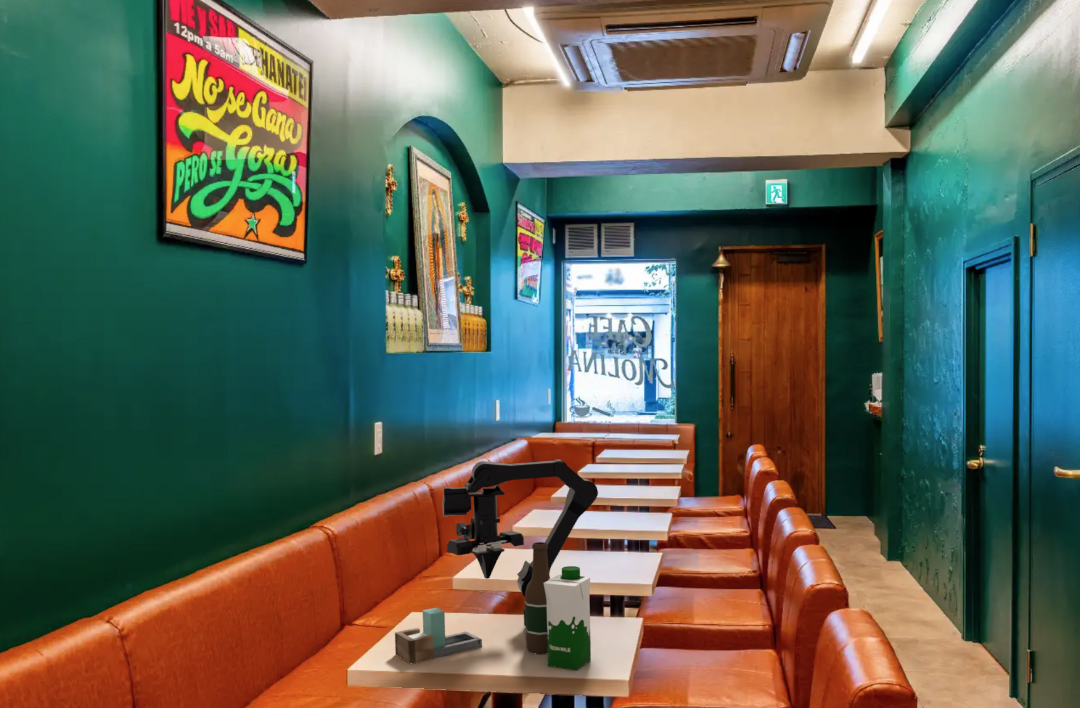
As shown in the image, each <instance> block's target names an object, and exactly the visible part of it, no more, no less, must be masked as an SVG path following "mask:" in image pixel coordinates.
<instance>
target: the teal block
mask: <svg viewBox="0 0 1080 708" xmlns="http://www.w3.org/2000/svg"><path fill="white" fill-rule="evenodd" d="M445 616H446V615H445V610H442V609H440V608H439V607H433V608H428V609H422V628H423V629H422V632H420V633H418V634H413V635H409V637H411V638H412V639H413V638H418V637H423V636H427V635H432V636H433V648H437V647H441V646H445V636H446V623H445V622H446V617H445Z"/></svg>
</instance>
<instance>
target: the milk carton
mask: <svg viewBox="0 0 1080 708" xmlns="http://www.w3.org/2000/svg"><path fill="white" fill-rule="evenodd" d="M590 587H591V577H587V576H582V575H581V568H580V567H579V566H574V565H571V566H570V565H569V566H568V565H567V566H563V567H562V568H561V574H558V575H556V576H554V577H550V579H549V580H548V581H547V582H545V583H544V588H545V594H546V600H547V634H548V654H547V667H551V668H557V669H562V670H563V669H564V670H569V671H570V670H571V671H579V670H580V669H582V667H584V666H585V665H586V664H588V663H589V662H591V659H592V658H591V653H592V652H591V649H592V647H591V646H592V642H591V641H592V640H591V639H592V638H591V612H590V611H591V609H590V593H591V592H590Z"/></svg>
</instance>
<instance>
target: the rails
mask: <svg viewBox="0 0 1080 708" xmlns="http://www.w3.org/2000/svg"><path fill="white" fill-rule="evenodd" d="M478 647H480V648H483V639H482V638H480V637H479V636H476V634H473V633H470V632H468V631H462V632H458V633H454V634H453V633H452V634H449V635H445V646H441V647H437V648H433V650H434V659H436V658H440V657H441V658H442V657H445V656H448V655H454V654H457V653H462V652H466V651H470V650H474V649H479V648H478Z"/></svg>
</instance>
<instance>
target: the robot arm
mask: <svg viewBox="0 0 1080 708" xmlns="http://www.w3.org/2000/svg"><path fill="white" fill-rule="evenodd" d="M555 477H557V479H558V480H560V481H561V482H562V483H563V484H564V485H565V486H566V487H567V488H568V491H567V494H566V497H565V502H564V507H563V510H562V511H561V513H560V515H559V516H558V518H557V520H556V522H555V523H554V525H553V527H552V529H551V531H550V532H549V535H547V537H546V540H545V541H544V542H545V543H547V545H548V549H547V556H548V568H549V574H550V573H551V569H552V566H553V564H554V563H555V562H556V559H557V557H558V556H559V554H560V552H561V550H562V549H563V547H564V544H565V543H566V541H567V539H568V537H569V536H570V534H571V532H572V530H573V529H574V527H575V525H576V523H577V522H578V519H579V518H580V517H581V516H582V515H583V514H584V513H585V512H587V511H588V509H590V508H591V506H592V504H593V503H595V501H596V500H597V497H598V495H599V490H598V487H597V485H596V484H595V483H594V482H593V481H591V480H589V479H587V478H585V477H582V476H580V475H579V474H578V473H576V471H574V470H573V469H572V468H570V467H569V465H568V464H567V463H566V461H563V460H561V459H554V460H548V461H547V460H546V461H545V460H544V461H536V462H535V461H534V462H533V461H532V462H521V463H520V462H519V463H503V462H495V461H486V460H483V461H482V460H481V461H478V462H476V463H475V464H474V466H473V467H472V468H471V476H470V477H469V479H468V480H467V482H465V485H464V486H463V487H443V489H442V490H443V493H442V499H441V501H442V503H441V505H442V515H443V517H454V516H455V517H456V516H467V515H468V513H470V512H471V511H472V505H473V517H471V518H470V523H469V524H466V521H464V522H457V523H456V524H455V533H456V536H457V538H455V539H449V541H448V542H447V545H446V551H447V552H448V553H450V554H453V555H456V556H465V555H469V554H470V555H471V554H473V555H474V556H475V558H476V560H477V562H478V564H479V567H480V569H481V572H482V574H483V577H484V578H485V579H488V580H489V579H490V578H491V577H492V574H493V571H494V569H495V566H496V564H497V562H498V560H499V558H500V556H501V554H502V553H504V552H505V550H506V549H504V548H503V547H502V545H505V544H511V546H513V547H518V546H519V547H520V546H524V545H525V537H524V535H523V533H522V532H517V531H514V530H509V531H507V530H506V531H502V532H500V533H499V532H498V530H499V529H498V524H499V523H501V518H500V517H498V500H497V499H498V497H497V496H504V495H505V493H506V492H505V491H504V490H503V489H502V488H501V487H500V486H499V485H501V484H504V483H507V482H510V481H514V480H515V481H517V480H528V479H529V480H530V479H541V478H543V479H544V478H555ZM480 490H481V491H480ZM478 491H479V492H478ZM472 500H473V501H472ZM472 502H473V503H472ZM498 533H499V534H498ZM460 537H462V538H460ZM532 572H533V560H532V561H531V562H528V561H527V560H524V563H523V565H522V568H521V569H520V571H519V572H518V573H516V575H517V577H518V578H517V580H516V581H517V587H518V589H519V591H520V592H521V594H522V596H523V597H524V598H525V591H526V588H527V585H528V584H529V582H530V580H531V579H532ZM523 626H524V627H525V628H524V631H525V632H526V626H525V608H524V609H523Z"/></svg>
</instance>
